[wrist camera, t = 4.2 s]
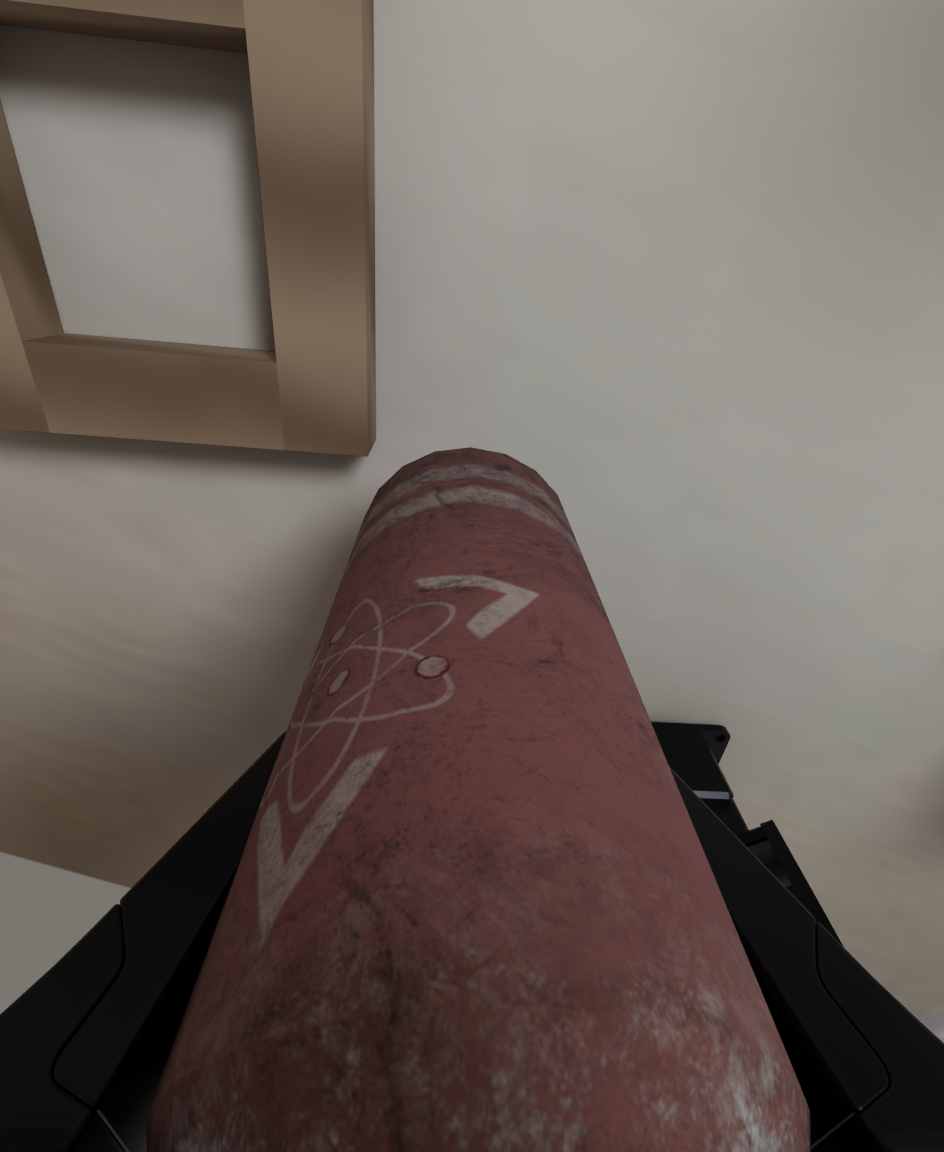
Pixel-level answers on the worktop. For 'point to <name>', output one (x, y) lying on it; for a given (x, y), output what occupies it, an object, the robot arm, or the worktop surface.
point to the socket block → (292, 236)
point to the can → (474, 878)
